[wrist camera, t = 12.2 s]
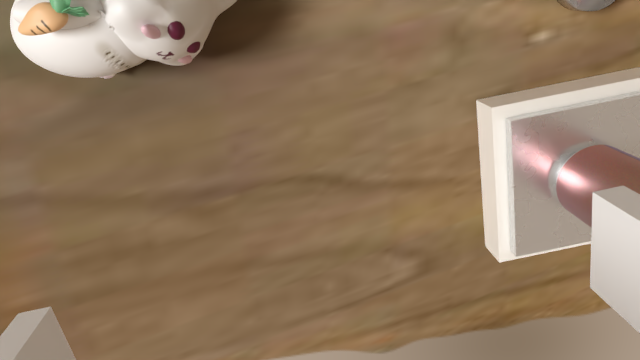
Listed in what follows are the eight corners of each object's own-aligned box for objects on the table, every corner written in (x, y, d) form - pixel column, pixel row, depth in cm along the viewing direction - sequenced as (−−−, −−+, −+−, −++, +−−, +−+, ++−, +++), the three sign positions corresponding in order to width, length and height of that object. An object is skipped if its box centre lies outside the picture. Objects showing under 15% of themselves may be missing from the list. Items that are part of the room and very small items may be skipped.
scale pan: (505, 118, 38) (511, 121, 37) (654, 87, 38) (664, 90, 37) (510, 250, 42) (516, 256, 41) (644, 223, 42) (652, 228, 41)
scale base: (476, 99, 40) (491, 107, 38) (641, 66, 41) (669, 71, 38) (485, 246, 45) (499, 262, 43) (632, 215, 46) (655, 229, 43)
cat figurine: (-40, 69, 27) (210, -11, 25) (-55, -57, 28) (182, -143, 27) (72, 114, 36) (261, 58, 35) (58, 17, 38) (239, -42, 36)
